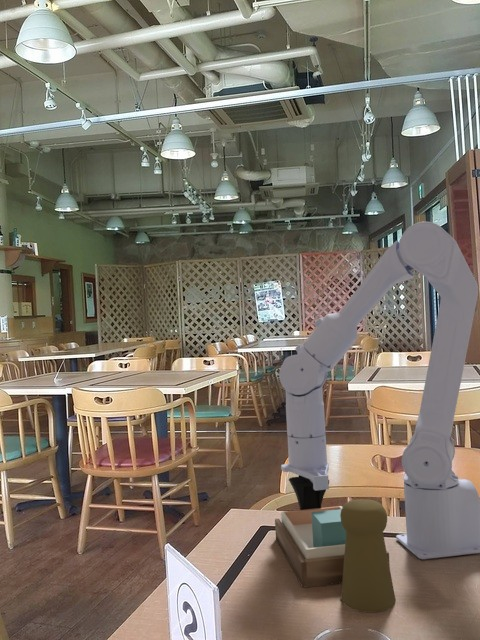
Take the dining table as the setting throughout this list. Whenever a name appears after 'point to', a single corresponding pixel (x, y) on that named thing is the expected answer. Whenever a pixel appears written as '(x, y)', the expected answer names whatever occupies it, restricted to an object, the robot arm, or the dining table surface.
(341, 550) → the tray
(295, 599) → the dining table surface
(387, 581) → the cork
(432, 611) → the dining table surface
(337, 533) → the teal block
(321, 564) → the dock
